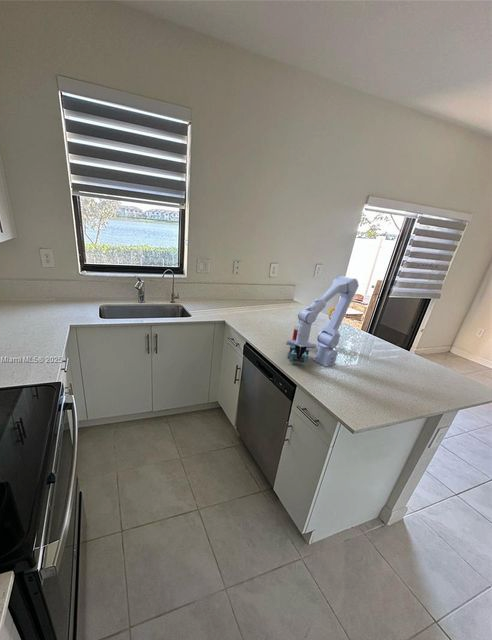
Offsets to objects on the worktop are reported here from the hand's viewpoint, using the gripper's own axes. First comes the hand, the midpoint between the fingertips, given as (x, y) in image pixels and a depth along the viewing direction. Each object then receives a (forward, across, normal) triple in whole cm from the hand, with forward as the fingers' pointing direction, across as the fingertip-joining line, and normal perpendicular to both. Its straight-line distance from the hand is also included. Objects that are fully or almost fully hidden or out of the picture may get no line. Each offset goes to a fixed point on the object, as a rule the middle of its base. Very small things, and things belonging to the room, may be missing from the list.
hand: (298, 359), depth 145 cm
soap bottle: (+4, +17, +35) cm, 39 cm away
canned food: (+4, 0, +29) cm, 30 cm away
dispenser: (+3, 0, +12) cm, 12 cm away
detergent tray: (+3, 0, +4) cm, 5 cm away
